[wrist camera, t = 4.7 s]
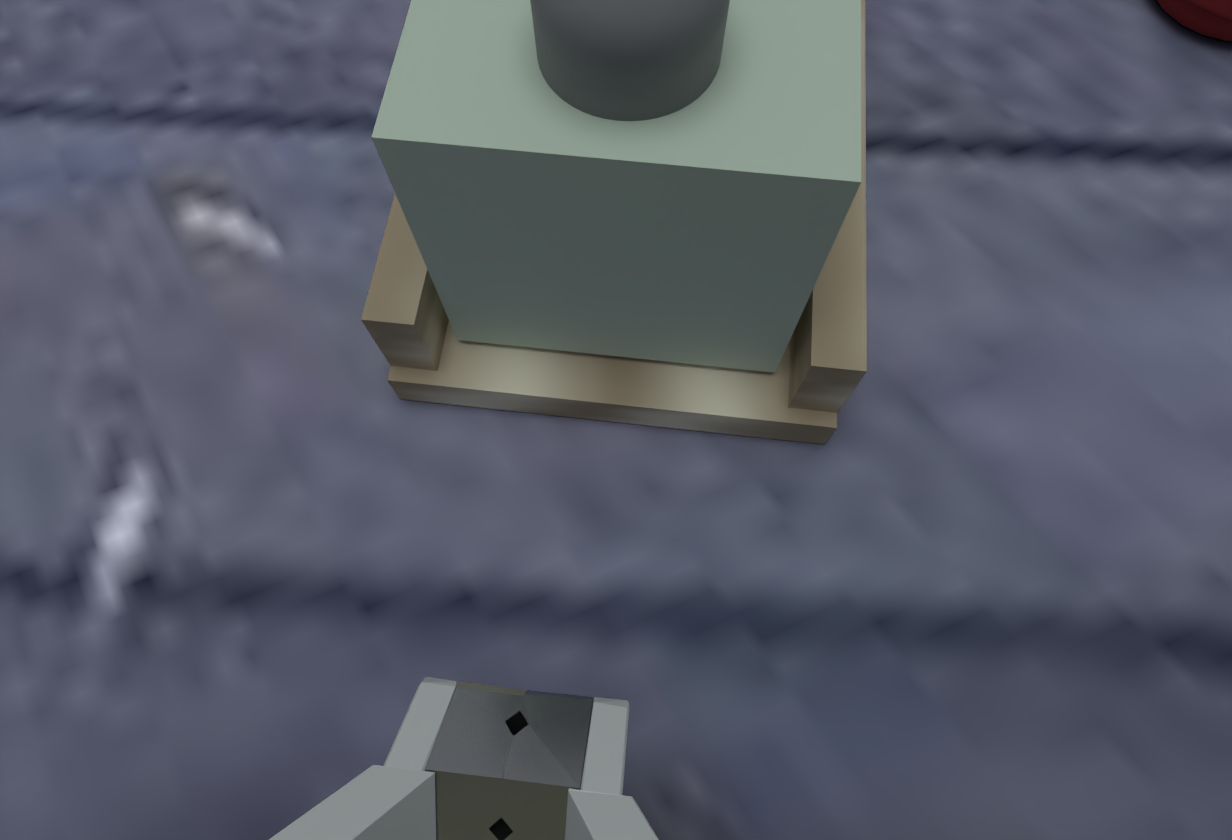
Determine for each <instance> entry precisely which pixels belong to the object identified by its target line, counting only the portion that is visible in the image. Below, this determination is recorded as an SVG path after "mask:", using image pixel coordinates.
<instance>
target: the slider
mask: <svg viewBox="0 0 1232 840" xmlns="http://www.w3.org/2000/svg"><path fill="white" fill-rule="evenodd" d="M372 140H373V142H374V144H375V147H376V149H377V151H378V154H379V156H380V158H381V161H382V163H383V165H384V168H385V170H386V173H387V175H388V177H389V180H390V182H391V184H392V187H393V189H394V191H395V194H396V196H397V199H398V201H399V203H400V206H401V208H402V210H403V213H404V215H405V217H406V220H407V222H408V224H409V227H410V229H411V232H412V234H413V236H414V239H415V241H416V243H417V246H418V248H419V250H420V253H421V255H422V258H423V260H424V262H425V265H426V267H427V269H428V272H429V274H430V276H431V279H432V281H433V283H434V286H435V288H436V291H437V293H438V295H439V298H440V300H441V302H442V305H443V307H444V309H445V312H446V314H447V317H448V319H449V321H450V324H451V326H452V328H453V331H454V333H455V335H456V338H457V340H464V341H474V342H483V343H493V344H503V345H512V346H522V347H532V348H541V349H551V350H561V351H570V352H580V353H590V354H600V355H609V356H619V357H629V358H638V359H648V360H658V361H667V362H677V363H687V364H697V365H706V366H716V367H726V368H735V369H745V370H755V371H764V372H774V373H775V372H776V369H777V367H778V365H779V363H780V361H781V358H782V356H783V354H784V352H785V350H786V347H787V345H788V343H789V341H790V339H791V336H792V334H793V332H794V330H795V328H796V325H797V323H798V321H799V319H800V316H801V314H802V312H803V310H804V308H805V305H806V303H807V301H808V299H809V297H810V294H811V292H812V290H813V288H814V286H815V283H816V281H817V279H818V277H819V275H820V272H821V270H822V268H823V266H824V264H825V261H826V259H827V257H828V255H829V252H830V250H831V248H832V246H833V244H834V241H835V239H836V237H837V235H838V233H839V230H840V228H841V226H842V224H843V222H844V219H845V217H846V215H847V213H848V211H849V208H850V206H851V204H852V202H853V199H854V197H855V195H856V193H857V191H858V188H859V186H860V184H861V0H412V1H411V4H410V8H409V11H408V14H407V18H406V21H405V25H404V28H403V32H402V35H401V38H400V42H399V45H398V49H397V52H396V56H395V59H394V62H393V66H392V69H391V73H390V76H389V79H388V83H387V86H386V90H385V93H384V97H383V100H382V103H381V107H380V110H379V114H378V117H377V120H376V124H375V127H374V131H373V134H372Z"/></svg>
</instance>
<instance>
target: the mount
mask: <svg viewBox="0 0 1232 840" xmlns="http://www.w3.org/2000/svg"><path fill="white" fill-rule="evenodd" d="M361 320H362V322H363V323H364V325H365V326H366V328H367V330H368V331H369V333H370V334H371V336H372V337H373V339H374V340H375V342H376V344H377V345H378V347H379V348H380V350H381V351H382V353H383V354H384V356H385V358H386V359H387V361H388V362H389V364H390V365H391V367H390V371H389V375H388V379H387V381H388V382H389V383H390V385H391V386H392V388H393V389H394V391H395V392H396V394H397V395H398V397H399V398H400V399H405V400H414V401H424V402H433V403H443V404H452V405H461V406H471V407H480V408H489V409H499V410H508V411H517V412H527V413H536V414H545V415H555V416H564V417H573V418H583V419H592V420H601V421H611V422H620V423H629V424H639V425H648V426H657V427H667V428H676V429H685V430H695V431H704V432H714V433H723V434H732V435H742V436H751V437H760V438H770V439H779V440H788V441H798V442H807V443H816V444H825V443H826V442H827V441H828V439H829V438H830V437H831V435H832V434H833V433H834V431H835V430H836V429H837V412H838V411H839V410H840V408H841V407H842V405H843V404H844V403H845V401H846V400H847V398H848V397H849V396H850V394H851V393H852V391H853V390H854V389H855V387H856V386H857V384H858V383H859V382H860V380H861V379H862V377H863V376H864V375H865V373H866V372H867V317H866V94H865V0H861V184H860V186H859V188H858V191H857V193H856V195H855V197H854V199H853V202H852V204H851V206H850V208H849V211H848V213H847V215H846V217H845V219H844V222H843V224H842V226H841V228H840V230H839V233H838V235H837V237H836V239H835V241H834V244H833V246H832V248H831V250H830V252H829V255H828V257H827V259H826V261H825V264H824V266H823V268H822V270H821V272H820V275H819V277H818V279H817V281H816V283H815V286H814V288H813V290H812V292H811V294H810V297H809V299H808V301H807V303H806V305H805V308H804V310H803V312H802V314H801V316H800V319H799V321H798V323H797V325H796V328H795V330H794V332H793V334H792V336H791V339H790V341H789V343H788V345H787V347H786V350H785V352H784V354H783V356H782V358H781V361H780V363H779V365H778V367H777V369H776V372H775V373H774V372H764V371H755V370H745V369H735V368H726V367H716V366H706V365H697V364H687V363H677V362H667V361H658V360H648V359H638V358H629V357H619V356H609V355H600V354H590V353H580V352H570V351H561V350H551V349H541V348H532V347H522V346H512V345H503V344H493V343H483V342H474V341H464V340H457V338H456V335H455V333H454V331H453V328H452V326H451V324H450V321H449V319H448V317H447V314H446V312H445V309H444V307H443V305H442V302H441V300H440V298H439V295H438V293H437V291H436V288H435V286H434V283H433V281H432V279H431V276H430V274H429V272H428V269H427V267H426V265H425V262H424V260H423V258H422V255H421V253H420V250H419V248H418V246H417V243H416V241H415V239H414V236H413V234H412V232H411V229H410V227H409V224H408V222H407V220H406V217H405V215H404V213H403V210H402V208H401V206H400V203H399V201H398V199H397V196H396V194H395V195H394V199H393V203H392V206H391V210H390V214H389V218H388V221H387V225H386V229H385V232H384V236H383V240H382V244H381V247H380V251H379V255H378V258H377V262H376V266H375V270H374V273H373V277H372V281H371V284H370V288H369V292H368V296H367V299H366V303H365V307H364V310H363V314H362V318H361Z"/></svg>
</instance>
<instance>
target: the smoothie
mask: <svg viewBox="0 0 1232 840" xmlns="http://www.w3.org/2000/svg"><path fill="white" fill-rule="evenodd" d="M1157 1H1158V3H1159V4H1160V5H1161V7H1162V8H1163V9H1164V11H1165V12H1167V13H1168V14H1169V15H1170V16H1172V17H1173V18H1174V19H1175V20H1177V21H1178V22H1179V23H1180V24H1182V25H1184V26H1186V27H1188V28H1190V29H1192V30H1194V31H1196V32H1198V33H1200V34H1202V35H1206V36H1210V37H1214V38H1217V39H1221V40H1225V41H1232V0H1157Z"/></svg>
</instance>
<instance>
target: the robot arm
mask: <svg viewBox="0 0 1232 840" xmlns="http://www.w3.org/2000/svg"><path fill="white" fill-rule="evenodd" d="M593 701H594V703H593ZM628 718H629V702H628V700H618V699H608V698H598V697H595V698H594V697H586V696H577V695H568V694H559V693H549V692H540V691H531V690H520V689H513V688H506V687H499V686H492V685H485V684H478V683H471V682H464V681H460V682H458V681H451V680H444V679H438V678H431V677H425V679H424V680H423V681H422V682H421V683H420V684H419V686H418V688H417V691H416V693H415V695H414V697H413V700H412V702H411V704H410V706H409V709H408V711H407V713H406V715H405V718H404V720H403V722H402V724H401V727H400V729H399V731H398V734H397V736H396V738H395V740H394V743H393V745H392V747H391V749H390V752H389V754H388V756H387V758H386V761H385V763H384V765H383V766H379V765H372V766H371V767H369V768H368V769H366V770H365V771H364V772H362V773H361V774H359V775H358V776H357V777H355V778H354V779H352V780H351V781H350V782H348V783H347V784H345V785H344V786H343V787H341V788H340V789H338V790H337V791H336V792H334V793H333V794H332V795H330V796H329V797H327V798H326V799H325V800H323V801H322V802H320V803H319V804H318V805H316V806H315V807H313V808H312V809H311V810H309V811H308V812H306V813H305V814H304V815H302V816H301V817H299V818H298V819H297V820H295V821H294V822H292V823H291V824H290V825H288V826H287V827H286V828H284V829H283V830H281V831H280V832H279V833H277V834H276V835H274V836H273V837H272V838H270V839H269V840H659V839H658V837H657V836H656V834H655V832H654V831H653V829H652V828H651V826H650V824H649V823H648V821H647V819H646V818H645V816H644V814H643V813H642V811H641V809H640V808H639V806H638V805H637V803H636V801H635V800H634V798H633V797H631V796H624V795H622V792H623V779H624V767H625V755H626V743H627V731H628Z"/></svg>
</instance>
